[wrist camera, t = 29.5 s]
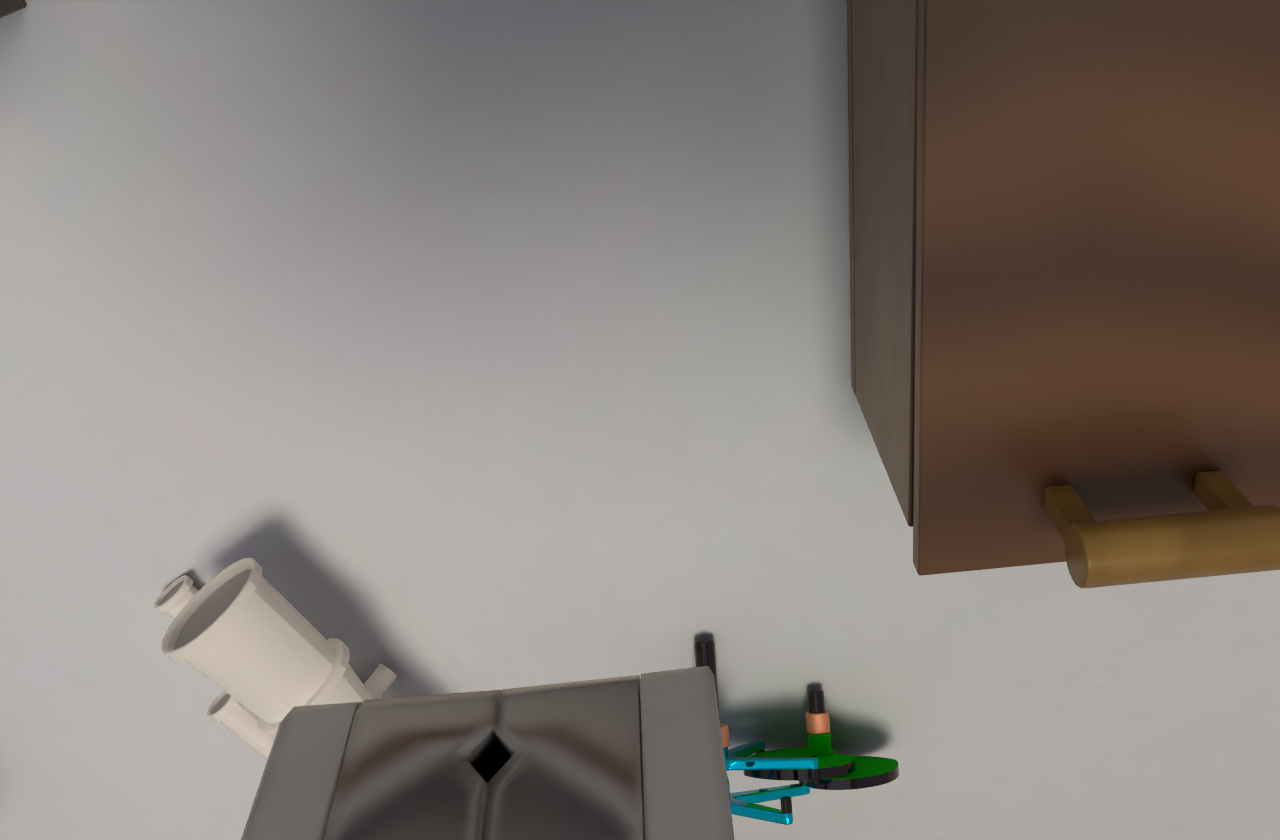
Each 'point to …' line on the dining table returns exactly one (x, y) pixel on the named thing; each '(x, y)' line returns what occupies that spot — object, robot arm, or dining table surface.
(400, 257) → the dining table surface
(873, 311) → the chest
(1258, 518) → the chest lid
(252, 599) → the white tubular piece
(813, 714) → the stick construction toy
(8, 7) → the stand
